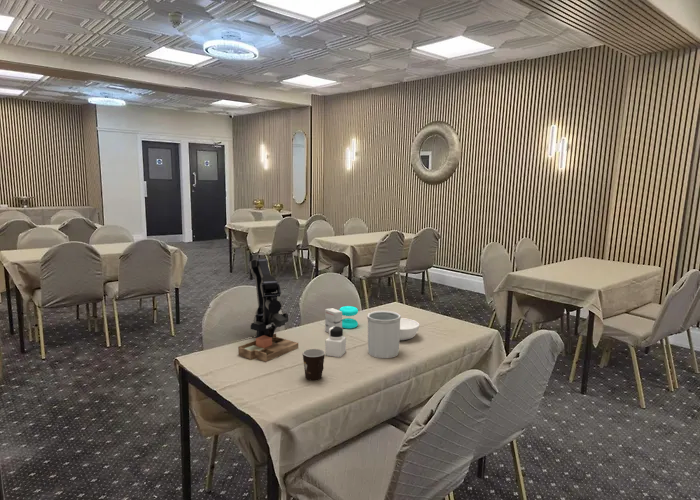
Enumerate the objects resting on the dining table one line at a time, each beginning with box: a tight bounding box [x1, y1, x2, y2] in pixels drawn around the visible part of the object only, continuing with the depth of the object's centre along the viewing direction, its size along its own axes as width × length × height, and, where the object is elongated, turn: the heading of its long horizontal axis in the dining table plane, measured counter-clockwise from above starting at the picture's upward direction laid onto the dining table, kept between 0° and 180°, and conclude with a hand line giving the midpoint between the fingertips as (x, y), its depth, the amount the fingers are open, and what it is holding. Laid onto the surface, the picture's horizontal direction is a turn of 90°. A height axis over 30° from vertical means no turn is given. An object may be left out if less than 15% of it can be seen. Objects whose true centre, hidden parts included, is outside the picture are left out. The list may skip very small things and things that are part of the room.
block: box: [255, 335, 272, 348], centre depth 206 cm, size 5×5×4 cm
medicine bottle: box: [324, 326, 347, 358], centre depth 204 cm, size 7×7×12 cm
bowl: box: [399, 317, 420, 341], centre depth 227 cm, size 18×18×7 cm
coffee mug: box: [302, 348, 326, 382], centre depth 178 cm, size 12×9×10 cm
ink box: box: [324, 307, 343, 334], centre depth 232 cm, size 9×5×12 cm, turn 39°
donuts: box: [338, 305, 359, 330], centre depth 243 cm, size 10×10×10 cm
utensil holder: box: [366, 310, 402, 359], centre depth 206 cm, size 15×15×18 cm
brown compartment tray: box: [237, 332, 299, 363], centre depth 206 cm, size 15×23×4 cm, turn 145°
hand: (270, 340), depth 210 cm, fingers closed
